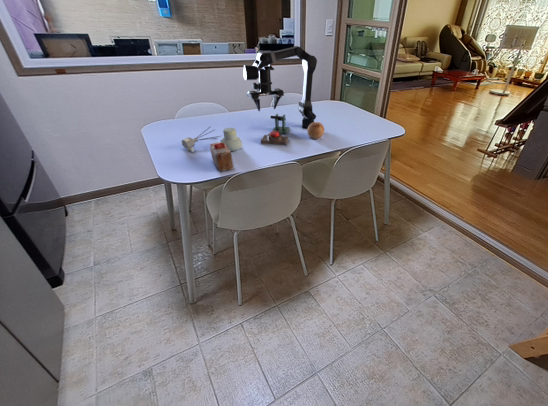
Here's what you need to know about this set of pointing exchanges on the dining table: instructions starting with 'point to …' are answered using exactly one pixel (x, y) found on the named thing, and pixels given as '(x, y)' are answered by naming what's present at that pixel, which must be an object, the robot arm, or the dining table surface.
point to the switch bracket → (282, 129)
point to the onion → (315, 130)
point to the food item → (221, 156)
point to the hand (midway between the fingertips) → (266, 110)
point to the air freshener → (231, 139)
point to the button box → (274, 140)
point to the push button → (274, 134)
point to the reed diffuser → (193, 141)
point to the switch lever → (277, 117)
